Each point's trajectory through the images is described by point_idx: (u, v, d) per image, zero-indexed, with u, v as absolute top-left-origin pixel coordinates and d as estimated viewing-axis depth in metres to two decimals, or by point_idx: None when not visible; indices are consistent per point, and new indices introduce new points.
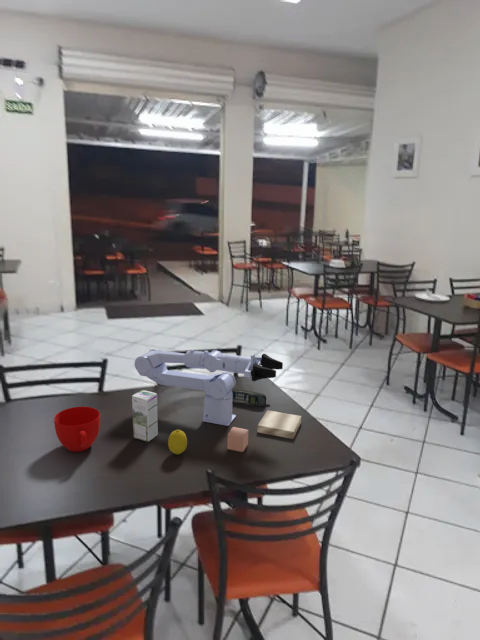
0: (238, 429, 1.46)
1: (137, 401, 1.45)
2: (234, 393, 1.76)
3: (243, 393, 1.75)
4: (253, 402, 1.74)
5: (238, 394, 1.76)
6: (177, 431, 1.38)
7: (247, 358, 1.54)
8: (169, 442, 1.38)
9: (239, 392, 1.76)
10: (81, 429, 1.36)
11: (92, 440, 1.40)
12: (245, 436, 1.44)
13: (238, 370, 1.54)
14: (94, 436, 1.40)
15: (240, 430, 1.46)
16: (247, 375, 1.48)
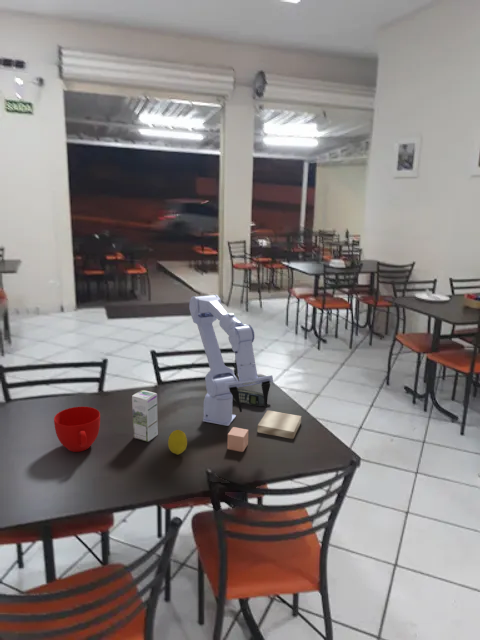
0: (238, 429, 1.46)
1: (137, 401, 1.45)
2: None
3: (244, 393, 1.75)
4: (254, 401, 1.74)
5: (239, 393, 1.76)
6: (177, 431, 1.38)
7: (245, 375, 1.42)
8: (169, 442, 1.38)
9: (240, 391, 1.76)
10: (81, 429, 1.36)
11: (92, 440, 1.40)
12: (245, 436, 1.44)
13: None
14: (94, 436, 1.40)
15: (240, 430, 1.46)
16: None
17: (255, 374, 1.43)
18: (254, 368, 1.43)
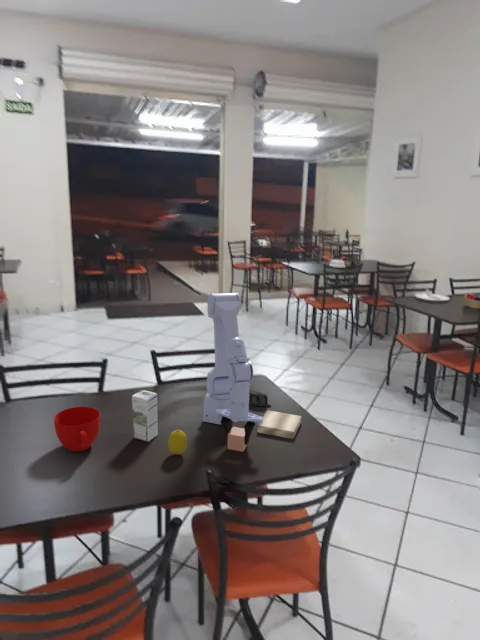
0: (238, 429, 1.46)
1: (137, 401, 1.45)
2: None
3: None
4: (254, 401, 1.74)
5: None
6: (177, 431, 1.38)
7: (233, 413, 1.41)
8: (169, 442, 1.38)
9: None
10: (81, 429, 1.36)
11: (92, 440, 1.40)
12: None
13: None
14: (94, 436, 1.40)
15: (240, 430, 1.46)
16: None
17: (244, 414, 1.41)
18: (244, 408, 1.40)
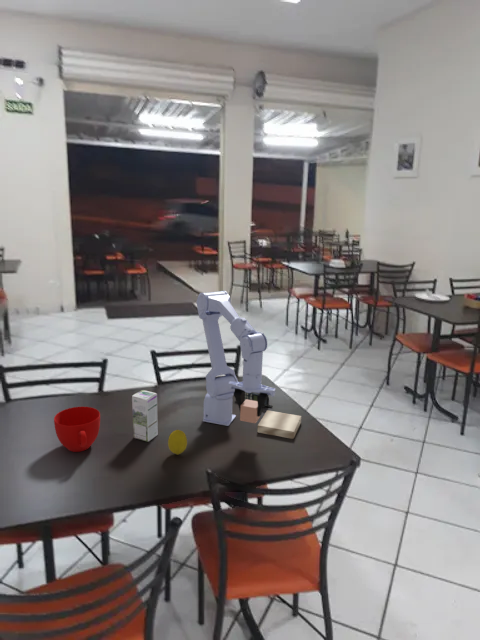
0: (250, 401, 1.48)
1: (137, 401, 1.45)
2: None
3: None
4: None
5: None
6: (177, 431, 1.38)
7: (246, 384, 1.42)
8: (169, 442, 1.38)
9: None
10: (81, 429, 1.36)
11: (92, 440, 1.40)
12: None
13: None
14: (94, 436, 1.40)
15: (253, 402, 1.47)
16: None
17: (257, 385, 1.42)
18: (257, 379, 1.42)
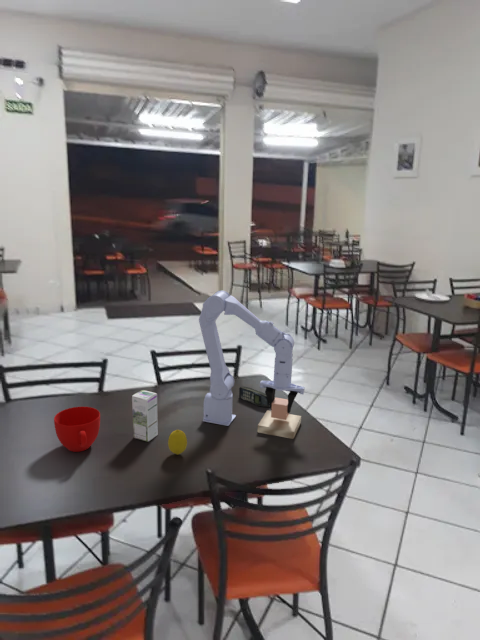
0: (280, 399, 1.58)
1: (137, 400, 1.45)
2: (242, 390, 1.79)
3: (249, 391, 1.77)
4: (257, 401, 1.75)
5: (245, 391, 1.78)
6: (177, 431, 1.38)
7: (278, 383, 1.53)
8: (169, 442, 1.38)
9: (246, 390, 1.78)
10: (81, 429, 1.36)
11: (92, 440, 1.40)
12: None
13: None
14: (94, 436, 1.40)
15: (282, 400, 1.57)
16: None
17: (287, 384, 1.53)
18: (288, 378, 1.52)
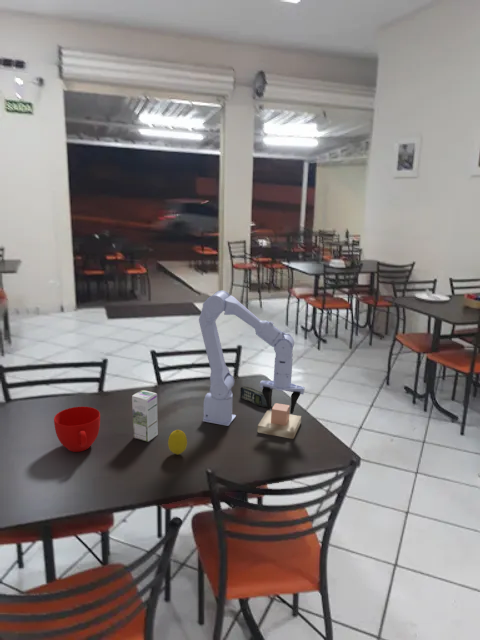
0: (280, 405, 1.58)
1: (137, 401, 1.45)
2: (243, 390, 1.79)
3: (250, 391, 1.77)
4: (257, 401, 1.75)
5: (246, 391, 1.78)
6: (177, 431, 1.38)
7: (278, 383, 1.53)
8: (169, 442, 1.38)
9: (247, 390, 1.78)
10: (81, 429, 1.36)
11: (92, 440, 1.40)
12: (287, 411, 1.56)
13: None
14: (94, 436, 1.40)
15: (282, 406, 1.58)
16: None
17: (287, 384, 1.53)
18: (288, 378, 1.52)
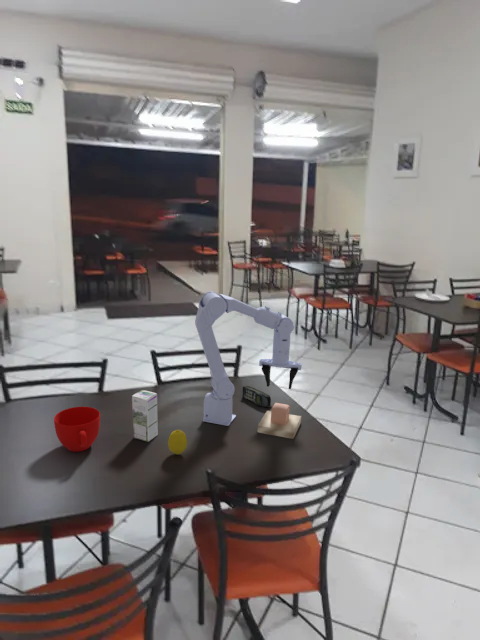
0: (280, 405, 1.58)
1: (137, 401, 1.45)
2: (245, 389, 1.80)
3: (251, 391, 1.77)
4: (258, 401, 1.75)
5: (248, 391, 1.79)
6: (177, 431, 1.38)
7: (277, 360, 1.61)
8: (169, 442, 1.38)
9: (249, 389, 1.78)
10: (81, 429, 1.36)
11: (92, 440, 1.40)
12: (287, 410, 1.56)
13: None
14: (94, 436, 1.40)
15: (282, 406, 1.58)
16: None
17: (286, 361, 1.62)
18: (286, 355, 1.61)
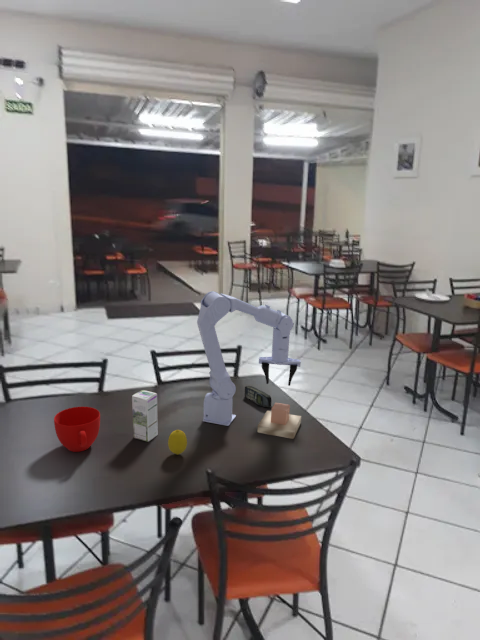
0: (280, 404, 1.59)
1: (137, 401, 1.45)
2: (247, 389, 1.80)
3: (253, 391, 1.77)
4: (259, 401, 1.75)
5: (250, 391, 1.79)
6: (177, 431, 1.38)
7: (277, 358, 1.63)
8: (169, 442, 1.38)
9: (250, 389, 1.79)
10: (81, 429, 1.36)
11: (92, 440, 1.40)
12: (287, 410, 1.56)
13: None
14: (94, 436, 1.40)
15: (282, 405, 1.58)
16: None
17: (286, 358, 1.64)
18: (286, 353, 1.64)
